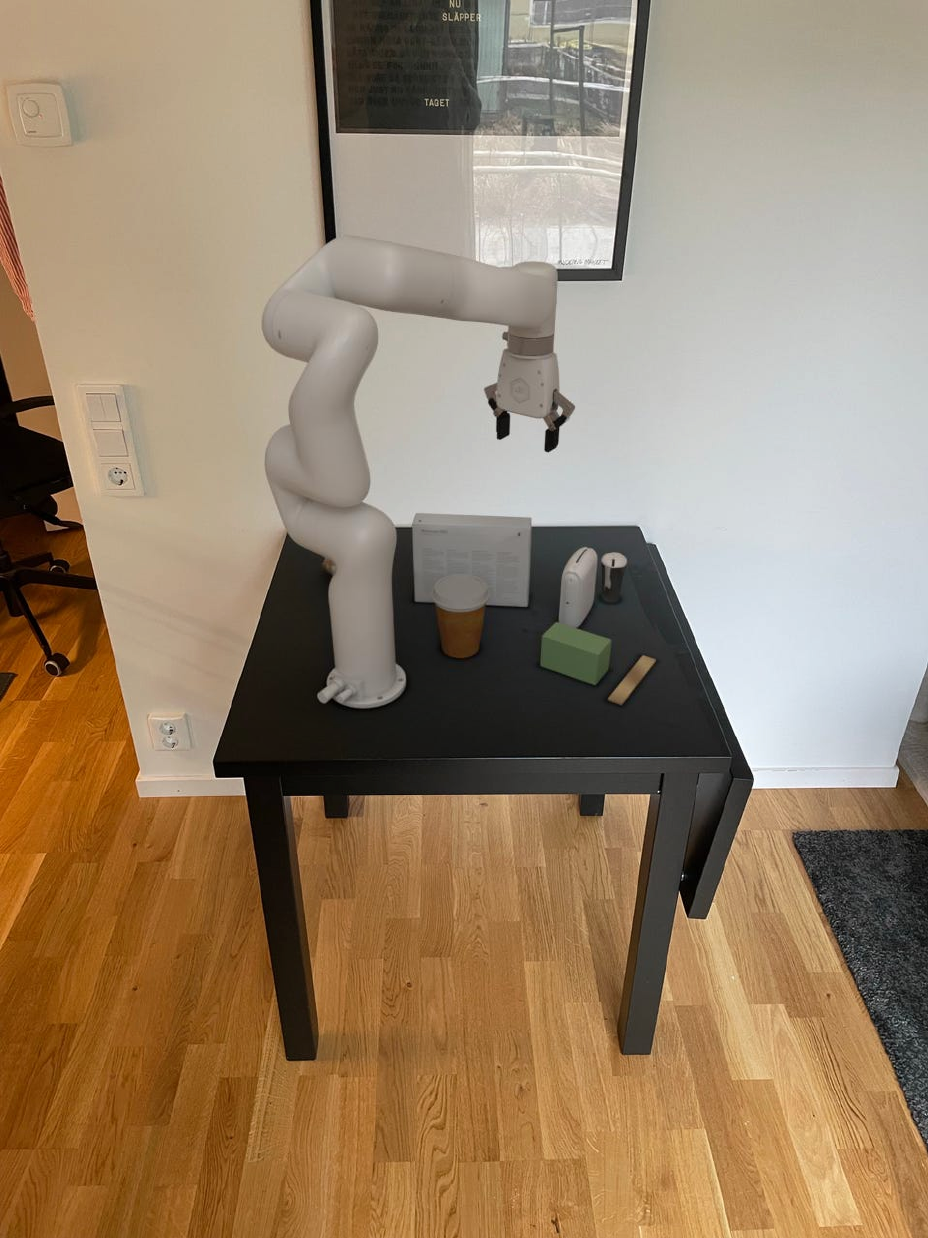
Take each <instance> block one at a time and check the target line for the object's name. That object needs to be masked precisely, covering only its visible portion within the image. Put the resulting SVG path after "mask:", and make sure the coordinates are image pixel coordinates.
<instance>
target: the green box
mask: <svg viewBox="0 0 928 1238" xmlns="http://www.w3.org/2000/svg"><path fill="white" fill-rule="evenodd" d="M611 648H612V639H610V638H607V637H604V636H602V635H598V634H595V633H591V632H589V631H585V630H583V629H579V628H578V627H577V628H574V627H570V626H567V625H564V624H561V623H559V621H555V623H553V624H552V625H551V626H550V628H548V629H547V630H546V631H545V632H544V633H543V634H542V635H541V647H540V664H539V665H540V667H541V668H544V669H548V670H550V671H553V672H557V673H559V674H561V675H564V676H567V677H570V678H573V679H576V680H579V681H581V682H585V683H587V684H591V685H593V686H596V685H597V684H598V683H599V682H600V681H601V679H602V678H603V677H604V676H605V675H606V674H607V672H609V667H610V658H611Z"/></svg>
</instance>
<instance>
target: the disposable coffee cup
mask: <svg viewBox="0 0 928 1238" xmlns="http://www.w3.org/2000/svg"><path fill="white" fill-rule="evenodd" d="M431 594H432V598H433V600H434V606H435V611H436V612H435V613H436V618H437V619H436V620H437V625H438V631H439V637H440V644H441V649H442V651H443V653H444V654H445V655H447V656H449V657H452V658H456V659H465V658H469V657H472V656H474V655H475V654H478V651H479V649H480V643H481V638H482V636H481V635H482V631H483V625H484V618H485V611H486V606H487V605H486V602H487V600H488V599H489V595H490V594H489V590H488V589H487V586H486V584H485V582H484V581H483V580H482V579H480V578H478V577H476V576H472V575H467V574H453V575H449V576H445V577H443V578H441V579H439V580H438V581H437V582H436V583H435V586H434V588H433V590H432V593H431Z"/></svg>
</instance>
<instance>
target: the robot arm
mask: <svg viewBox="0 0 928 1238" xmlns="http://www.w3.org/2000/svg"><path fill="white" fill-rule="evenodd" d="M558 281H559V279H558V270H557V268H556V267H555V266H554V265H553V264H551V263H549V262H545V261H537V260H536V261H533V260H531V261H530V260H529V261H521V262H518V263H516V264H514V265H512V266H496V265H493V264H488V263H484V262H481V261H479V260H475V259H471V258H468V257H464V256H460V255H457V254H451V253H447V252H442V251H437V250H432V249H427V248H422V247H417V246H414V245H408V244H403V243H398V242H394V241H387V240H380V239H375V238H370V237H369V238H368V237H363V236H356V235H350V234H349V235H348V234H346V235H341V236H338V237H335V238H333V239H331V240H330V241H329V242H327V243H325V244H324V245H323V246H322V247H321V248H319V249H318V250H317V251H315V253H314V254H313V255H311V256H310V257H309V258H308V259H307V260H305V262H304V263H303V264H302V265H300V266H299V268H298V269H296V271H294V273H292V275H290V276H289V277H288V278H287V279H286V280H285V281H284V282H283V283H282V284H281V285H280V286H279V287H277V289H276V290H275V292H273V293H272V295H271V296H270V298H269V299H268V300H267V302H266V304H265V306H264V309H263V312H262V315H261V331H262V335H263V337H264V340H265V342H266V343H267V344H268V345H269V347H270V348H271V349H272V350H273V351H275V352H276V353H278V354H280V356H284V357H285V358H289V359H293V360H296V361H300V362H303V363H306V365H305V367H304V369H303V371H302V373H301V375H300V377H298V379H297V382H296V384H295V385H294V388H292V392H291V393H290V397H289V400H288V404H287V405H288V406H287V408H288V409H287V410H288V411H287V412H288V420H289V424H286V425H283V426H282V427H279V428H278V429H277V430H276V431H275V432H274V433H273V434H272V436H271V437H270V439H269V440H268V442H267V446H266V448H265V451H264V452H265V453H264V471H265V476H266V479H267V483H268V486H269V489H270V491H271V494H272V496H273V500H274V502H275V505H276V507H277V510H278V513H279V516H280V518H281V521H282V523H283V526H284V529H285V530H286V532H287V534H288V536H289V537H290V538H291V540H293V542H294V543H296V544H297V545H298V546H300V547H302V548H304V549H306V550H307V551H311V552H312V553H314V554H316V555H318V556H319V555H320V556H321V557H323V558H324V557H325V558H327V559H329V560H331V561H332V562H334V563H335V565H336V567H337V571H336V574H335V575H334V577H333V578H332V577H331V579H332V580H331V579H330V581H329V585H328V592H327V593H328V594H327V595H328V605H329V616H330V617H329V618H330V626H331V637H332V648H333V659H334V668H333V669H332V670H331V671H330V672H329V674H328V676H327V678H326V687H324V688H323V689H321V690H320V691H319V692H318V693H317V695H316V696H317V699H318V700H319V702H320V703H322V704H326V703H328V702H329V701H331V699H333V700H334V701H335V702H337V703H339V704H340V705H343V706H347V707H349V708H353V709H371V708H372V709H373V708H378V707H381V706H385V705H387V704H389V703H392V702H394V701H395V700H396V699H398V698H399V697H400V696H401V695H403V692H404V691H405V689H406V687H407V675H406V672H405V670H404V669H403V668H402V666H400V665H398V663H396V643H395V623H394V622H395V621H394V603H393V602H394V601H393V567H394V566H393V564H394V557H395V554H396V553H395V552H396V546H397V536H398V535H397V529H396V527H395V524H394V522H393V520H392V519H391V518H390V516H388V514H387V513H385V512H384V511H383V510H381V509H380V508H378V507H376V506H374V505H372V504H369V503H366V502H364V500H365V499H366V498H367V496H368V495H369V492H370V488H371V471H370V467H369V466H370V465H369V462H368V458H367V455H366V451H365V447H364V443H363V439H362V436H361V433H360V428H359V425H358V421H357V415H356V411H355V401H356V395H357V393H358V389H359V386H360V384H361V381H362V380H363V377H364V376H365V374H366V372H367V370H368V368H369V366H370V365H371V363H372V361H373V360H374V357H375V355H376V352H377V349H378V345H379V328H378V324H377V321H376V319H375V318H374V316H373V315H372V314H371V312H369V311H368V310H367V309H366V308H371V309H375V310H378V311H384V312H390V313H397V314H405V315H417V316H423V317H430V318H437V319H446V320H452V321H457V322H458V321H459V322H472V323H484V324H493V325H499V326H507V331H503V332H502V335H501V338H502V340H503V341H506V345H507V346H506V348H504V349H503V350H502V353H501V357H500V362H499V366H498V372H497V379H496V380H497V381H496V382H495V383H493V384H489V385H487V386H485V387H484V388H483V391H484V393H485V397H486V399H487V404H488V405H489V407H490V408H491V410H492V415H493V416H494V417H495V418H496V419H495V431H496V440H499V441H501V440H504V439H505V438H507V437H509V436H510V433H511V414H510V413H512V414H515V415H520V416H524V417H529V418H533V419H543V421H544V423H545V424H546V426H547V428H546V429H545V431H544V447H543V449H544V450H543V451H544V452H545V453H551V452H552V451H553V450H556V449H557V447H558V445H559V442H560V429H561V428H560V427H562V426H563V425H564V424H565V423H566V422H568V421H569V420H570V418H571V416H572V414H573V413H574V411H575V410H576V405H575V404H574V403H573V402H571V401H570V400H569V399H568V398H567V397H566V396H565V395H563V394H562V393H561V392H560V369H559V361H558V355H557V353H556V352H554V349H555V334H556V333H555V332H556V314H557V313H556V312H557V303H558ZM364 307H366V308H364ZM559 407H560V408H561V409H562V412H561V414H559V413H558V409H559Z"/></svg>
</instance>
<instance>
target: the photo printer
mask: <svg viewBox="0 0 928 1238" xmlns="http://www.w3.org/2000/svg"><path fill="white" fill-rule="evenodd" d="M597 568H598V554H597V552H596V551H595V549H594V548H591V547H587V546H583V547H580V548H578V549H577V550H576V551H575V552H574V553H573V554H572V555H571V557H570V558H569V559H568V561H567V562H566V564H565V565H564V568H563V571H562V574H561V582H560V583H561V584H560V595H559V596H560V597H559V611H558V623H561V624H564V625H567V626H570V627H574V628H577V629H578V628H579V627H580V626H581V625H582V623H583V622H584V621H585V619H586V617H587V616H588V615H589V612H590V611H591V609H592V607H593V604H594V600H595V591H596V580H597V571H598V570H597Z"/></svg>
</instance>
